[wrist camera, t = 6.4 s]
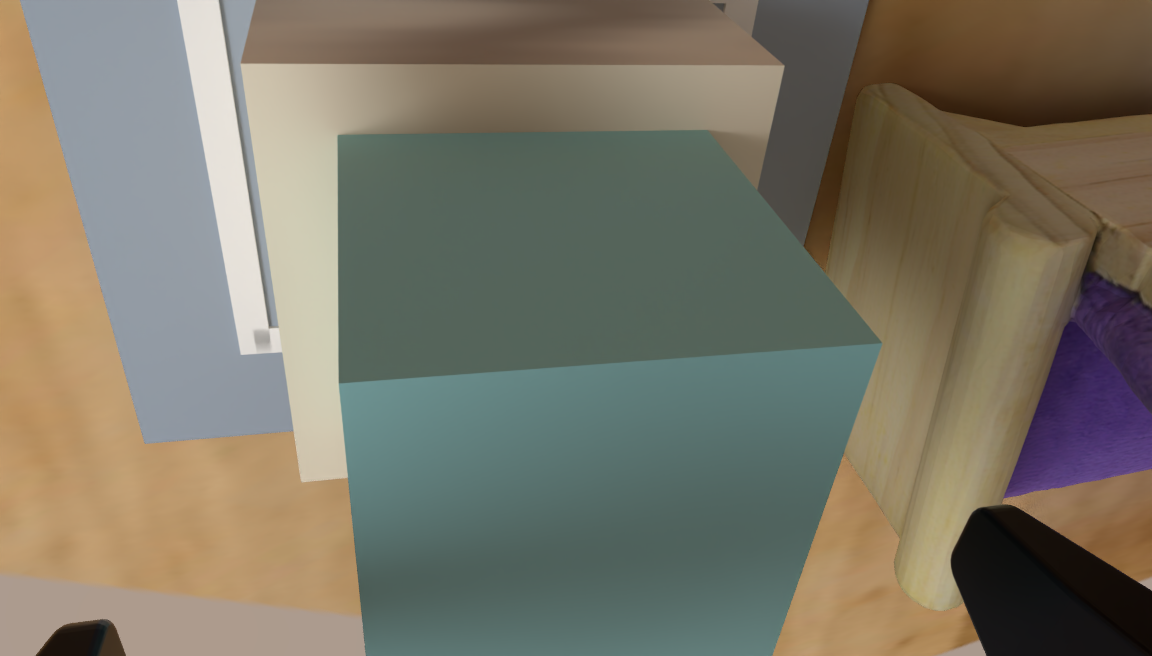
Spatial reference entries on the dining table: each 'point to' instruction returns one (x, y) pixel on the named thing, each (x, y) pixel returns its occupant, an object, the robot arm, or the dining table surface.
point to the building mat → (231, 195)
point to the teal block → (582, 394)
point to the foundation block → (460, 121)
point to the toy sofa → (992, 313)
